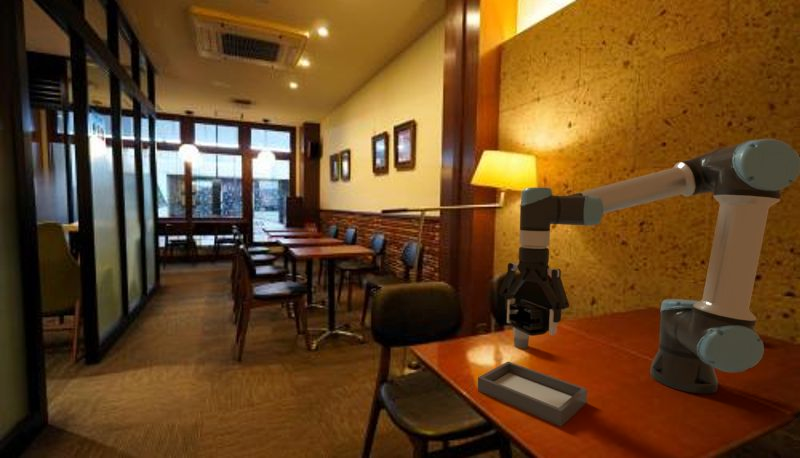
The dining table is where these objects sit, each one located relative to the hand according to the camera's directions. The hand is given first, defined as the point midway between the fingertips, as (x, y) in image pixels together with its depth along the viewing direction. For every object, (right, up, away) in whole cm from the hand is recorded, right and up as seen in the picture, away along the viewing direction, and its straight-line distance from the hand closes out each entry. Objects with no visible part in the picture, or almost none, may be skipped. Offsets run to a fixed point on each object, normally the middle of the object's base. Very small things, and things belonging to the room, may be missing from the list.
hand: (530, 327), depth 99 cm
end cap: (0, -1, 0) cm, 1 cm away
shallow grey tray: (-1, -17, -3) cm, 17 cm away
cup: (+7, -15, +31) cm, 35 cm away
